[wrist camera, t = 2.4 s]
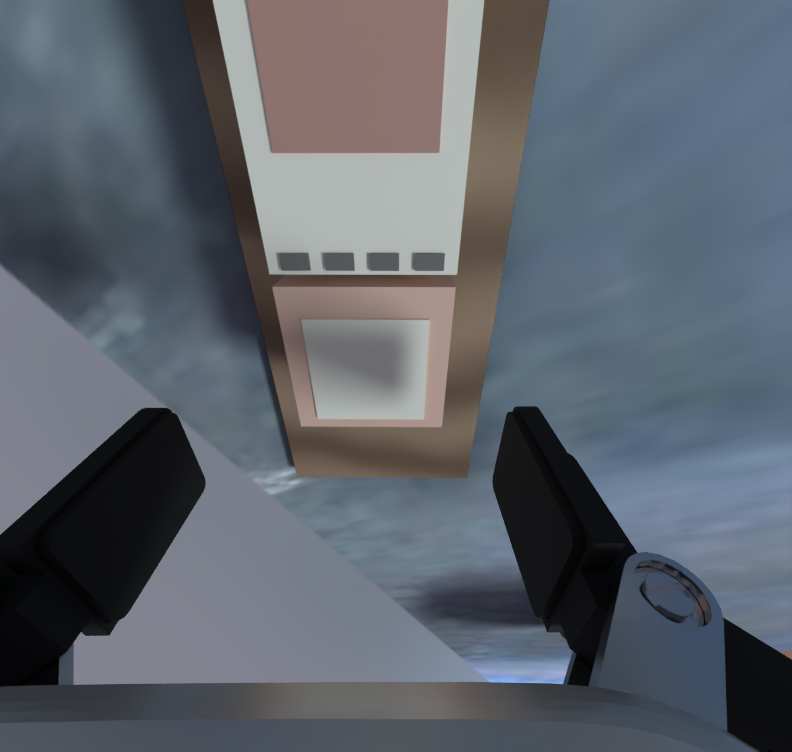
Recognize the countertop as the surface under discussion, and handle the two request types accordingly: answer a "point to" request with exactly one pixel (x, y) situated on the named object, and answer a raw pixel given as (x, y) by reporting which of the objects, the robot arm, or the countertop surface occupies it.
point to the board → (475, 281)
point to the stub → (367, 347)
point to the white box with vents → (355, 129)
